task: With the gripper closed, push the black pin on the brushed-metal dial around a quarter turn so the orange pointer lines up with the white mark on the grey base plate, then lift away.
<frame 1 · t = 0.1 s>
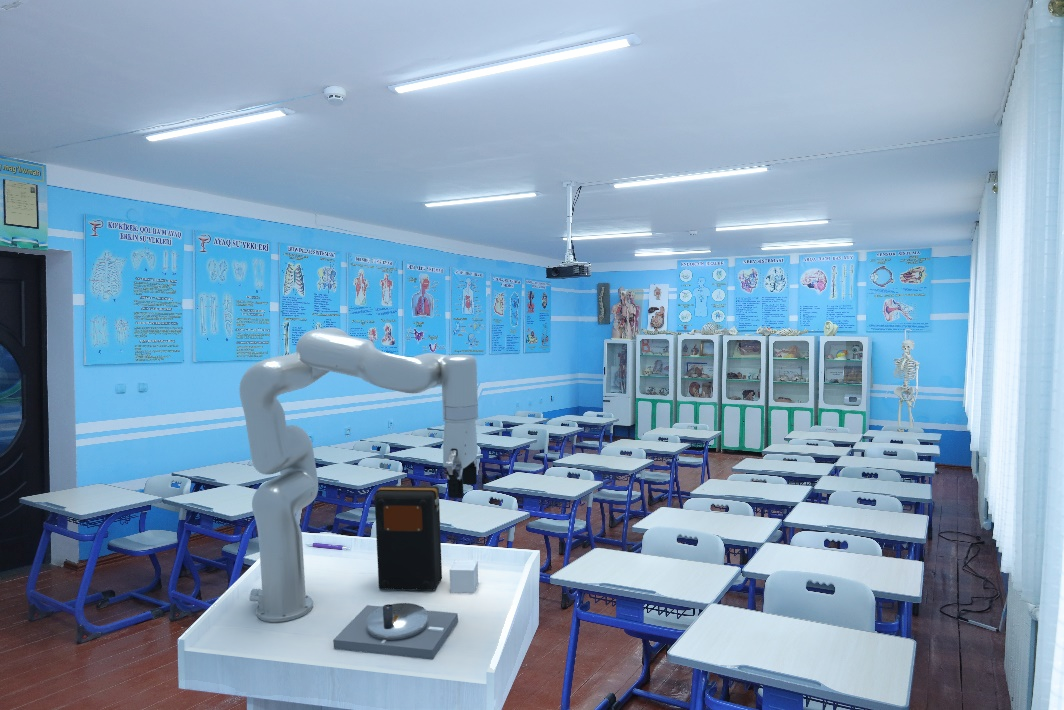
hand: (463, 490, 154), 31 cm above the table, tool pointing down, fingers open, 9 cm apart
voltmeter: (410, 586, 180), on the table
grey base plate: (397, 634, 155), on the table
dial: (396, 610, 154), point 5 cm above the table, hinge at 0.0°
light grey cube: (464, 588, 177), on the table
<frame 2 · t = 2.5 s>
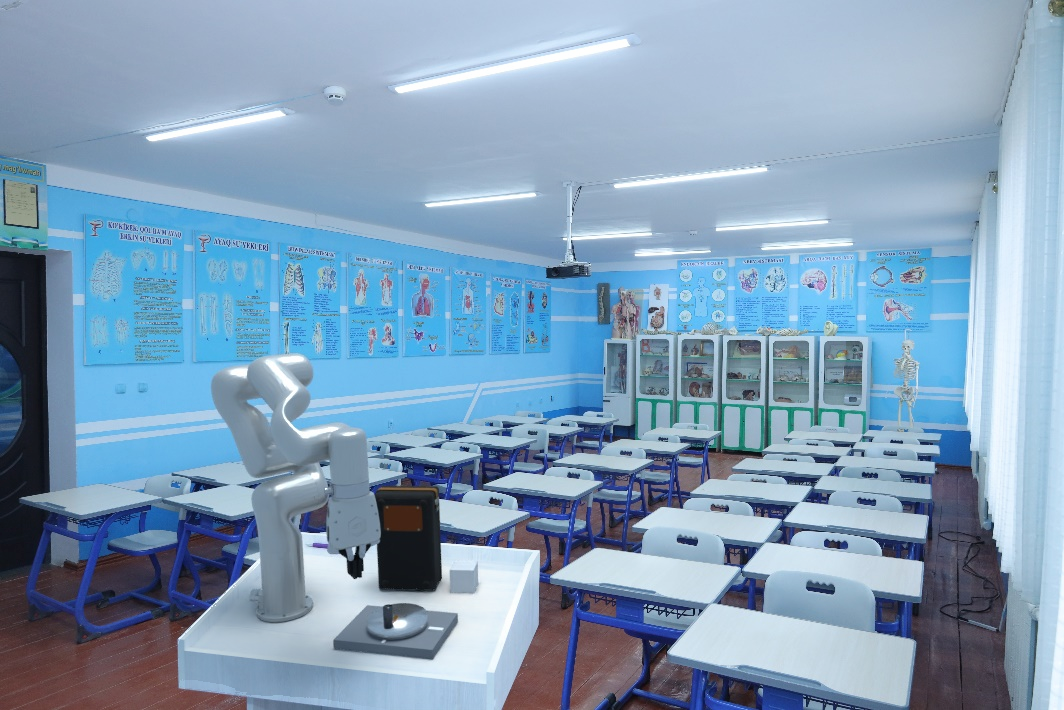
hand: (355, 576, 146), 16 cm above the table, tool pointing down, fingers closed
nothing on the table moved.
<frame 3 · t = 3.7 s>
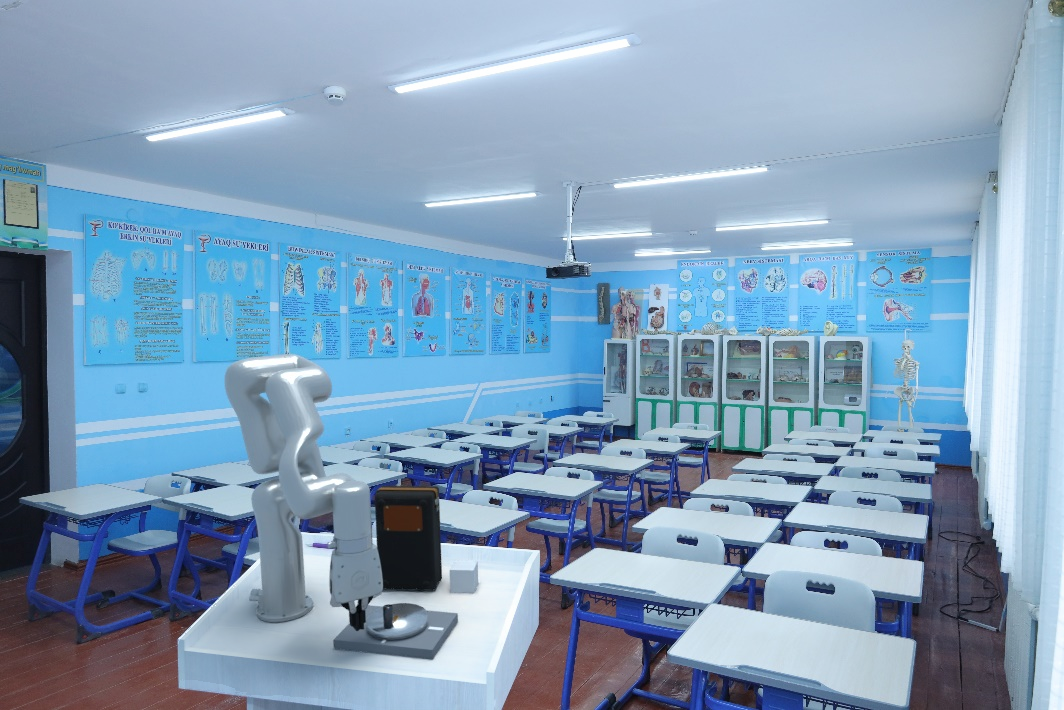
hand: (358, 627, 148), 5 cm above the table, tool pointing down, fingers closed
nothing on the table moved.
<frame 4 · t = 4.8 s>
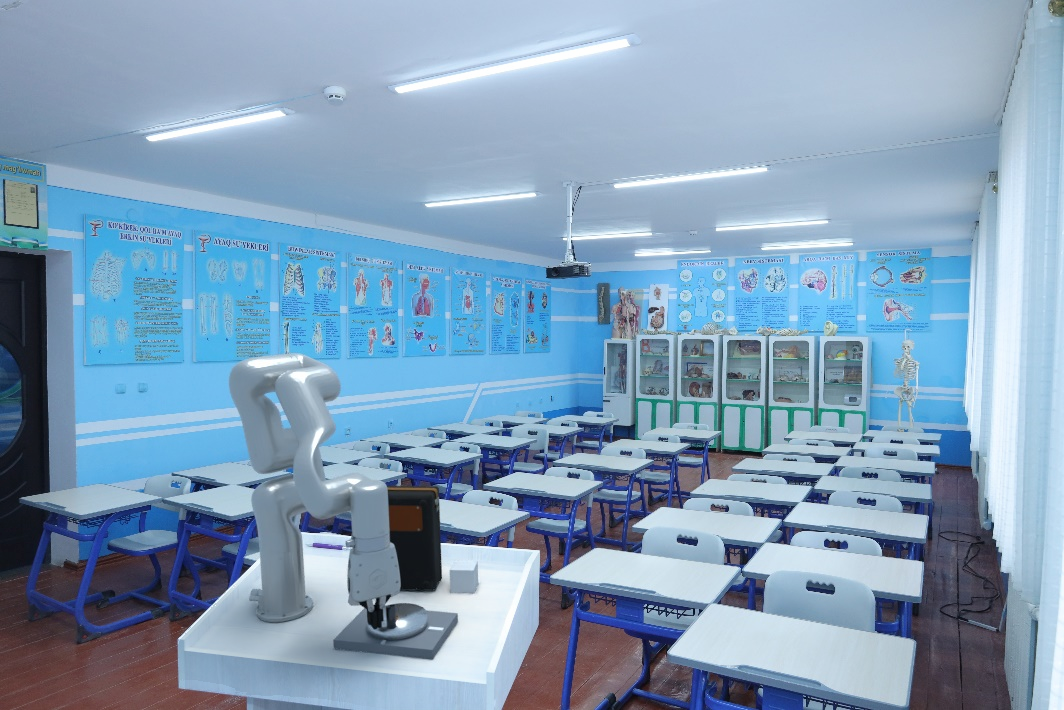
hand: (375, 626, 148), 5 cm above the table, tool pointing down, fingers closed
dial: (396, 610, 154), point 5 cm above the table, hinge at 8.5°, touching gripper
everything else where it was.
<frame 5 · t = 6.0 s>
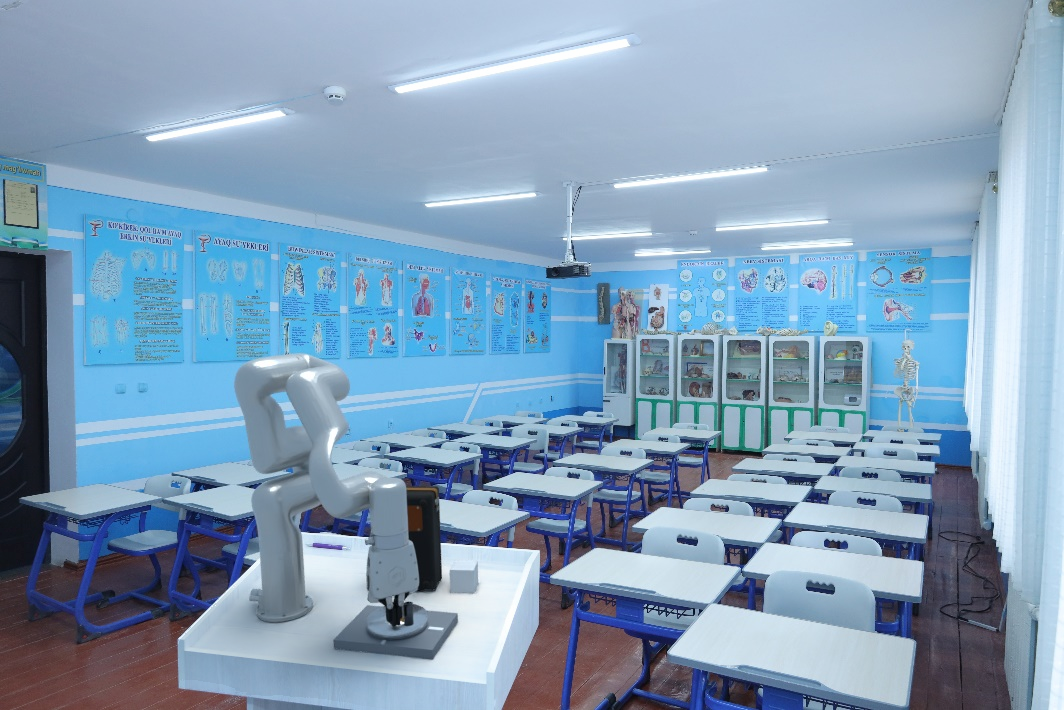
hand: (394, 623, 149), 5 cm above the table, tool pointing down, fingers closed
dial: (396, 610, 154), point 5 cm above the table, hinge at 56.2°, touching gripper
everything else where it was.
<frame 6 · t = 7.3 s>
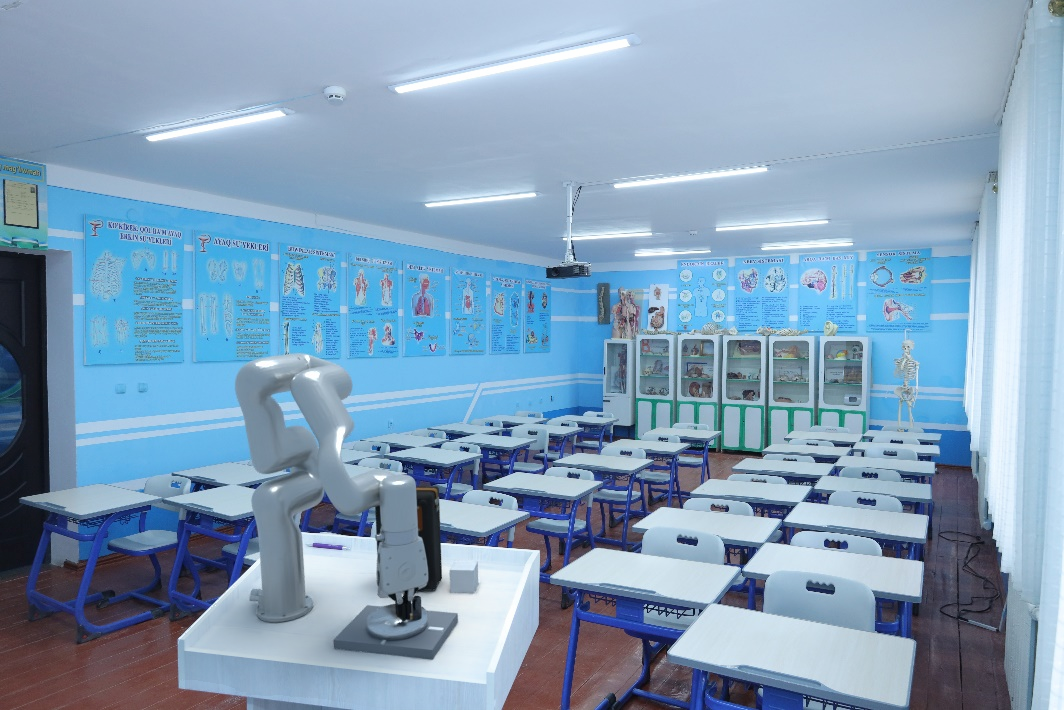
hand: (403, 618, 151), 5 cm above the table, tool pointing down, fingers closed
dial: (396, 610, 154), point 5 cm above the table, hinge at 94.1°, touching gripper
everything else where it was.
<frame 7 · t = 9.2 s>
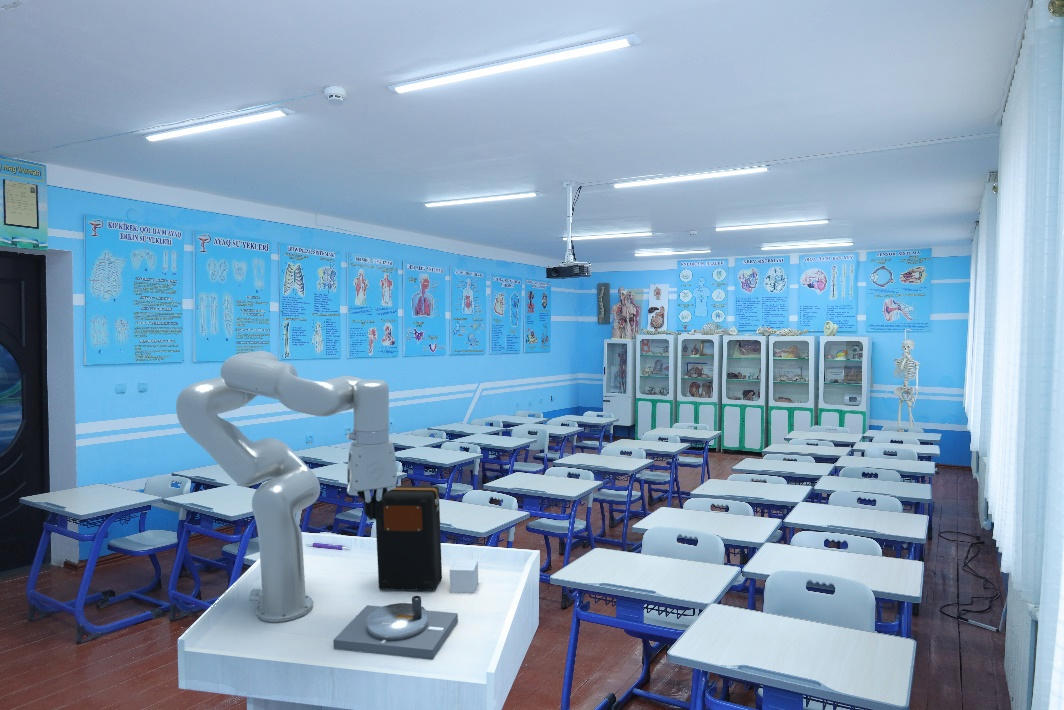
hand: (371, 517, 158), 25 cm above the table, tool pointing down, fingers closed
dial: (396, 610, 154), point 5 cm above the table, hinge at 94.2°
everything else where it was.
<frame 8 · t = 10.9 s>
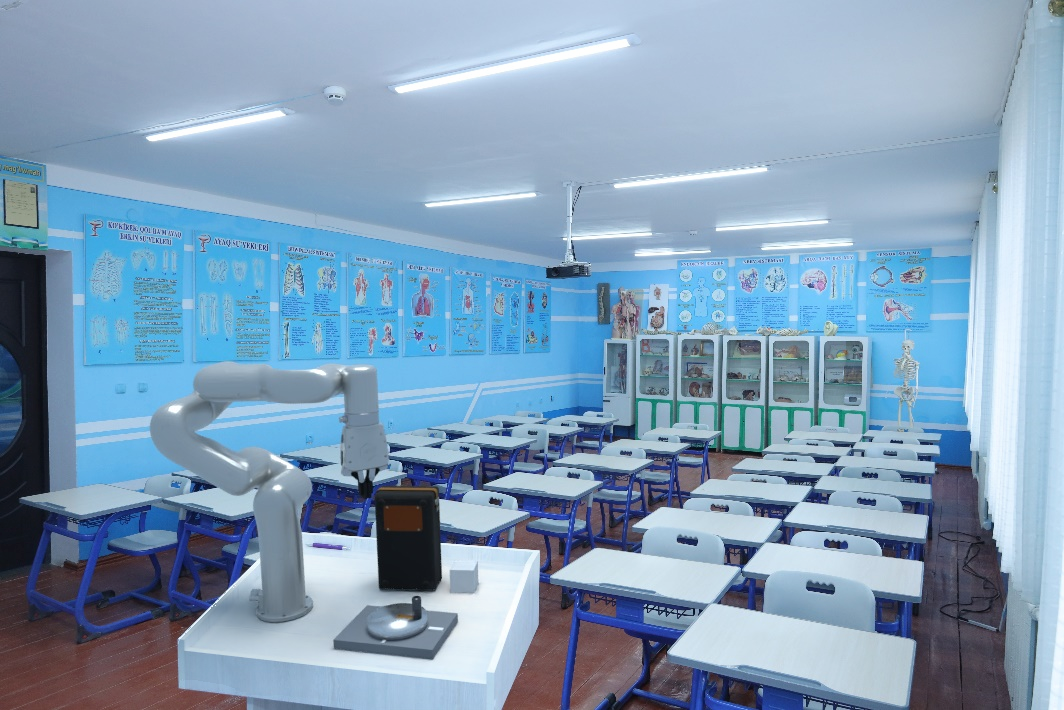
hand: (365, 497, 164), 27 cm above the table, tool pointing down, fingers closed
nothing on the table moved.
at the end: dial at +94° (first picture: +0°) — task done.
